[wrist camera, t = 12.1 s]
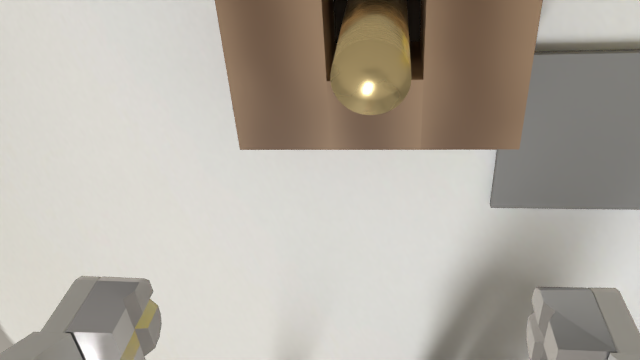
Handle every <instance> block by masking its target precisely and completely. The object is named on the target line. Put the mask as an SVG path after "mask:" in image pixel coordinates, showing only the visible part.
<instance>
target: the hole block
mask: <svg viewBox="0 0 640 360" xmlns="http://www.w3.org/2000/svg"><path fill="white" fill-rule="evenodd" d="M215 4H216V10H217V16H218V22H219V28H220V34H221V40H222V46H223V52H224V58H225V63H226V69H227V75H228V81H229V87H230V93H231V99H232V105H233V111H234V117H235V123H236V128H237V134H238V140H239V146H240V150H447V149H519V148H520V142H521V135H522V129H523V123H524V116H525V110H526V103H527V97H528V90H529V84H530V77H531V71H532V64H533V58H534V52H535V45H536V39H537V32H538V26H539V19H540V13H541V6H542V0H421V7H420V36H419V41H409V44H410V60H411V77H412V79H411V86H410V89H409V92H408V94H407V95H406V97H405V98H404V100H403V101H402V102H401V103H400V104H399V105H398V106H397V107H395V108H394V109H392V110H390V111H388V112H386V113H382V114H378V115H364V114H359V113H356V112H354V111H351V110H350V109H348V108H346V107H345V106H344V105H343V104H342V103H341V102H340V101H339V100H338V99H337V98H336V96H335V94H334V92H333V90H332V87H331V81H330V74H331V68H332V64H333V60H334V55H335V51H336V47H337V43H336V41H335V22H334V2H333V0H215Z"/></svg>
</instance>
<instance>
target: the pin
mask: <svg viewBox="0 0 640 360" xmlns="http://www.w3.org/2000/svg"><path fill="white" fill-rule="evenodd" d="M411 79H412V77H411V60H410V44H409V28H408V12H407V0H347V4H346V8H345V13H344V17H343V21H342V25H341V30H340V34H339V38H338V42H337V47H336V51H335V55H334V60H333V64H332V68H331V74H330V81H331V87H332V90H333V92H334V94H335V96H336V98H337V99H338V100H339V101H340V102H341V103H342V104H343V105H344V106H345V107H346V108H348V109H350V110H351V111H354V112H356V113H359V114H364V115H378V114H382V113H386V112H388V111H390V110H392V109H394V108H395V107H397V106H398V105H399V104H400V103H401V102H402V101H403V100H404V98H405V97H406V95H407V94H408V92H409V89H410V86H411Z"/></svg>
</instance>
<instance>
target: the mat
mask: <svg viewBox="0 0 640 360" xmlns="http://www.w3.org/2000/svg"><path fill="white" fill-rule="evenodd" d="M490 206H491V208H553V209H634V210H640V50H607V51H561V52H534V58H533V64H532V71H531V77H530V84H529V90H528V97H527V103H526V110H525V116H524V123H523V129H522V135H521V142H520V148H519V149H497V153H496V161H495V169H494V176H493V184H492V192H491V200H490Z"/></svg>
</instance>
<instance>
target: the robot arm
mask: <svg viewBox="0 0 640 360" xmlns="http://www.w3.org/2000/svg"><path fill="white" fill-rule="evenodd" d="M152 293H153V289H152V286H151V284H150V281H149V280H147V279H144V278H123V277H93V276H81V277H79V278H78V279H76V280H75V281H74V282H73V284H72V285H71V287H70V288H69V290H68V291H67V293H66V294H65V296H64V297H63V299H62V300H61V302H60V303H59V305H58V306H57V308H56V309H55V311H54V312H53V314H52V315H51V317H50V318H49V320H48V321H47V323H46V324H45V326H44V327H43V329H42V330H41V332H33V333H31V334H30V335H28V336H27V337H25V338H24V339H22V340H20V341H19V342H17V343H16V344H14V345H13V346H11V347H10V348H8V349H6V350H5V351H3V352H2V353H0V360H145V357H144V356H146V355H147V354H148V353H149V352H151V351H152V350H153V349H154V348H155V347H156V344H157V342H158V339H159V337H160V330H161V324H162V323H161V313H160V310H159V307H158V305H157V304H156V303H154V302H153V301H152V300H151V299H150V297H151V295H152ZM531 301H532V305H533V308H534V312H533V313H532V314H531V315H530V316H528V322H527V348H528V354H529V358H530V360H640V333H639V331H638V329H637V327H636V325H635V322H634V320H633V318H632V316H631V314H630V312H629V310H628V308H627V306H626V304H625V301H624V299H623V297H622V295H621V293H620V291H618V290H617V289H616V288H573V287H536V288H535V290H534V291H533V296H532V300H531Z"/></svg>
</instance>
